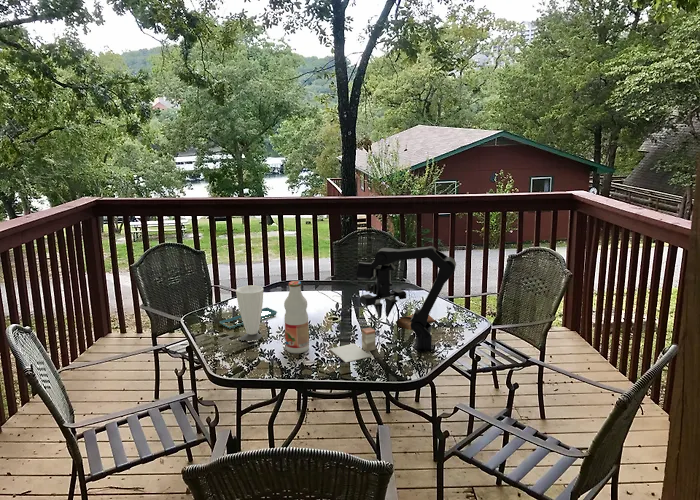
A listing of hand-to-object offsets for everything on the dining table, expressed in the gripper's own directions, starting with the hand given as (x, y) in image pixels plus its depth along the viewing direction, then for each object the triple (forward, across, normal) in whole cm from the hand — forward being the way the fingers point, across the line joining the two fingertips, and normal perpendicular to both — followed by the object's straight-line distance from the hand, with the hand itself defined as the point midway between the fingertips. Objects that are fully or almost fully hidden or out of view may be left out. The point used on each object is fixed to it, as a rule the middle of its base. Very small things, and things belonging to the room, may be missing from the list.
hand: (383, 317), depth 210 cm
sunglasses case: (+13, -26, -13) cm, 32 cm away
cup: (+12, +44, -35) cm, 58 cm away
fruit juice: (+12, +32, -14) cm, 37 cm away
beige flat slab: (+12, +16, 0) cm, 20 cm away
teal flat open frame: (+13, +39, -56) cm, 69 cm away
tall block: (+12, +7, 0) cm, 14 cm away
